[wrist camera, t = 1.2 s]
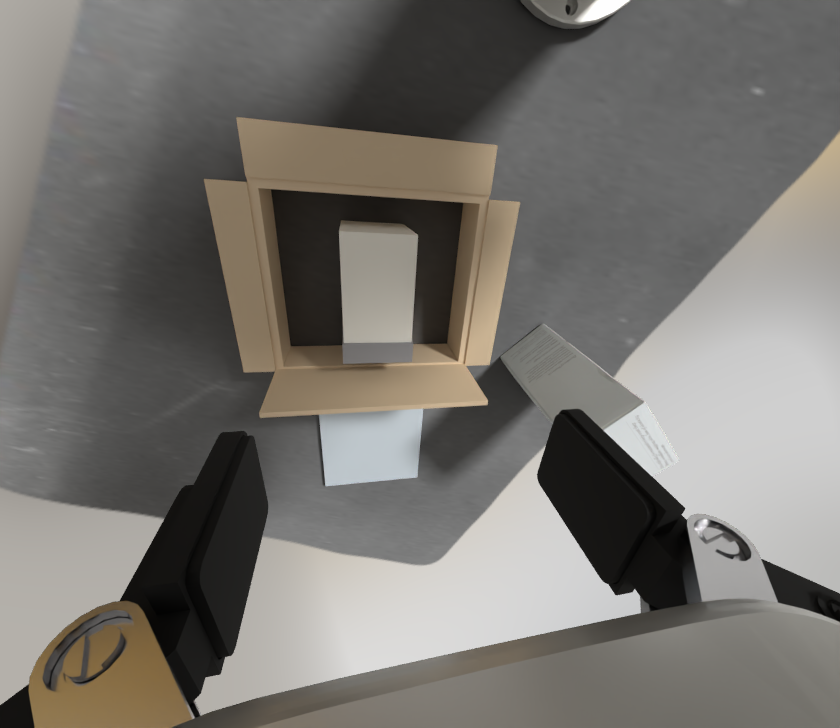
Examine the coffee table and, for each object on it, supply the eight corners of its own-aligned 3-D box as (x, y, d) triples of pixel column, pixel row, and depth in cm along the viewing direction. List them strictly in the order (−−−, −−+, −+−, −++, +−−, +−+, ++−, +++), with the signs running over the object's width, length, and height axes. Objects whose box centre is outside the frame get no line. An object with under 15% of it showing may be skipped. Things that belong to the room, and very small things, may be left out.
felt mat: (317, 390, 33) (316, 393, 33) (424, 386, 36) (425, 388, 35) (325, 482, 39) (325, 486, 39) (416, 474, 42) (417, 477, 41)
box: (339, 220, 27) (337, 231, 20) (404, 223, 28) (420, 235, 21) (344, 327, 31) (343, 363, 25) (399, 327, 32) (412, 362, 26)
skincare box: (573, 367, 38) (687, 460, 25) (531, 400, 39) (619, 504, 27) (539, 318, 34) (654, 399, 22) (493, 356, 35) (576, 454, 23)
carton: (215, 123, 22) (131, 86, 14) (505, 153, 26) (581, 139, 18) (256, 352, 30) (220, 420, 22) (474, 348, 34) (516, 403, 26)
